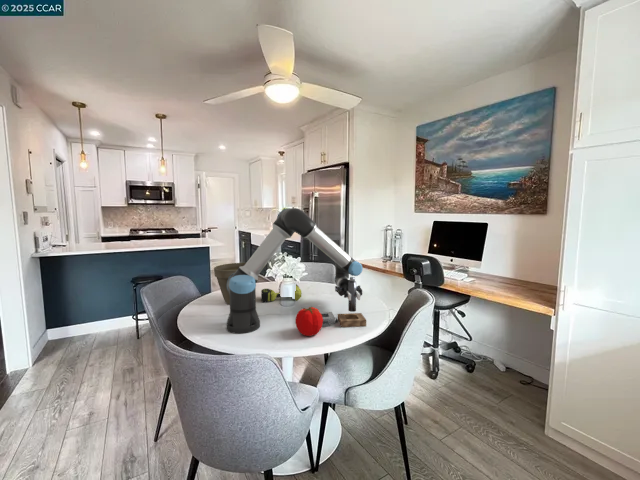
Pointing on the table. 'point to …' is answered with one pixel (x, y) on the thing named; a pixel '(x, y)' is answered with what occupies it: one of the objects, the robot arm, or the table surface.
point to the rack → (351, 320)
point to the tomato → (309, 321)
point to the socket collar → (328, 317)
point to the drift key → (325, 325)
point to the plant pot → (225, 277)
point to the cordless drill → (277, 294)
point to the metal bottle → (352, 295)
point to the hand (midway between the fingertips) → (354, 297)
